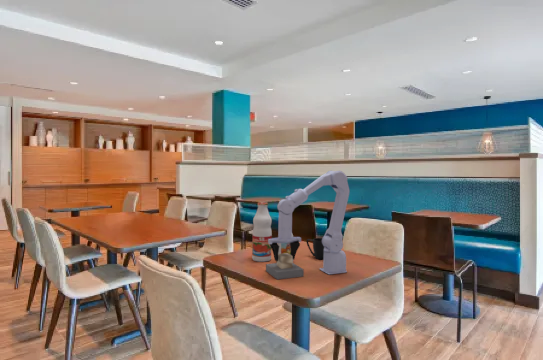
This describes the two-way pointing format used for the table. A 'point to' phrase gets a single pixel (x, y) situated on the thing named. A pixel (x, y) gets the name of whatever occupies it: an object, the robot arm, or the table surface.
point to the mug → (317, 248)
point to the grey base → (284, 271)
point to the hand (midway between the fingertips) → (284, 259)
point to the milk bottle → (284, 248)
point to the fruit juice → (261, 234)
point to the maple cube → (285, 260)
